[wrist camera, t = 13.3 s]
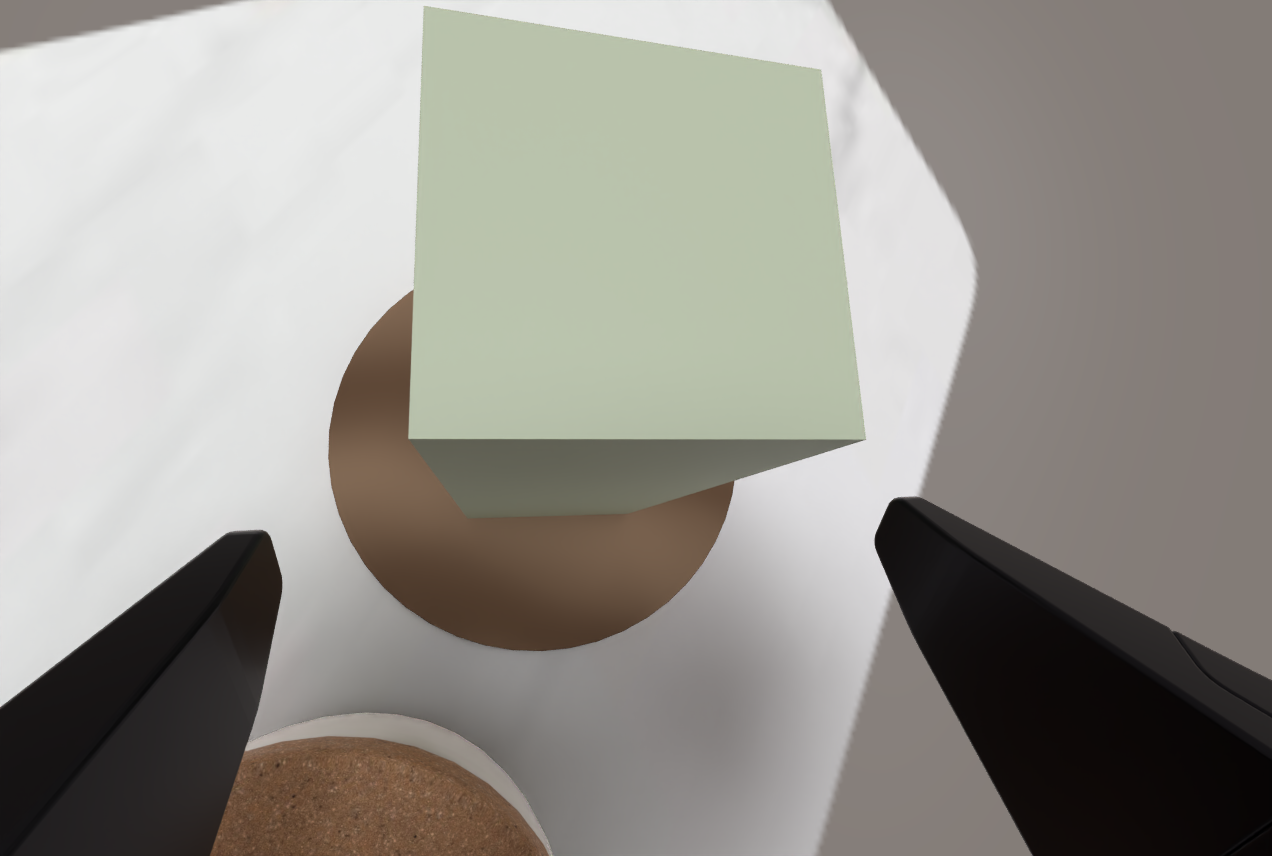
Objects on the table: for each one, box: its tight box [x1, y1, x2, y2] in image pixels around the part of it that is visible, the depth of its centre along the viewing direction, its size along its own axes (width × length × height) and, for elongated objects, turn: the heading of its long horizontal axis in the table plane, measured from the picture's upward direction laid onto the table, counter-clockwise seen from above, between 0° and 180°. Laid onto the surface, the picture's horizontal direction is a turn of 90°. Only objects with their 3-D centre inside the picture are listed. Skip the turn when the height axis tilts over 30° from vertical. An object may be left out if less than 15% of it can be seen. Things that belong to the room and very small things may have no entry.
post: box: [408, 6, 866, 518], centre depth 13 cm, size 5×5×13 cm
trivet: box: [328, 290, 734, 651], centre depth 20 cm, size 13×13×2 cm
